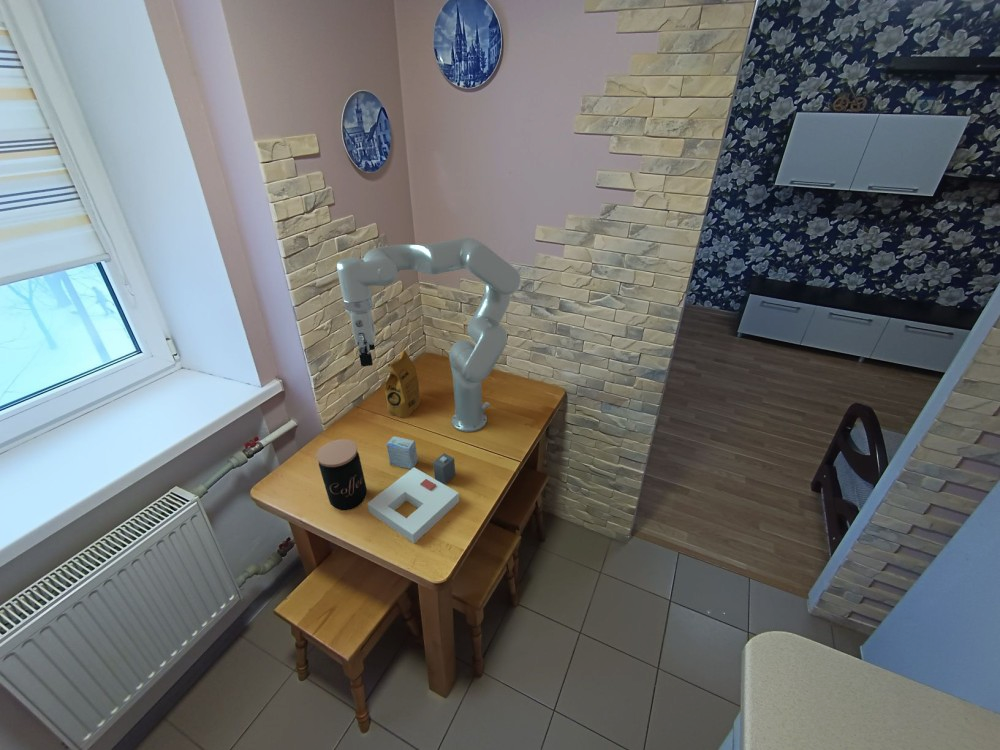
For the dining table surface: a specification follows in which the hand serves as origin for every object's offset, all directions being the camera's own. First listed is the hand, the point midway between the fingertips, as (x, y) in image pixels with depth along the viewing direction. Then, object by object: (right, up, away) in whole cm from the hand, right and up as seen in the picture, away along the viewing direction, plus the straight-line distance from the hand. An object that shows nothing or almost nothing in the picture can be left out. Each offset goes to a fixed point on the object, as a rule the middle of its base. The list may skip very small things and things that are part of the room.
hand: (368, 357), depth 136 cm
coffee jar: (-5, -42, -2) cm, 42 cm away
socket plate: (+15, -43, -5) cm, 46 cm away
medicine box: (+8, -34, +11) cm, 36 cm away
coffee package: (+3, -18, +36) cm, 41 cm away
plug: (+22, -37, +5) cm, 43 cm away
